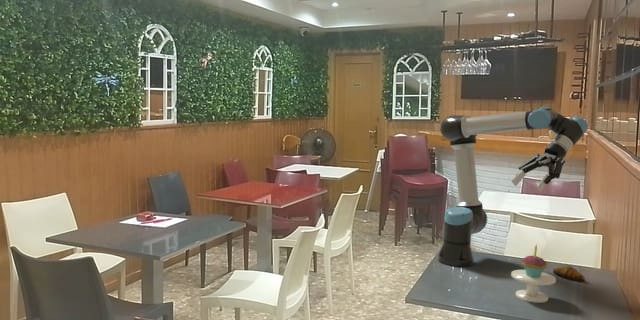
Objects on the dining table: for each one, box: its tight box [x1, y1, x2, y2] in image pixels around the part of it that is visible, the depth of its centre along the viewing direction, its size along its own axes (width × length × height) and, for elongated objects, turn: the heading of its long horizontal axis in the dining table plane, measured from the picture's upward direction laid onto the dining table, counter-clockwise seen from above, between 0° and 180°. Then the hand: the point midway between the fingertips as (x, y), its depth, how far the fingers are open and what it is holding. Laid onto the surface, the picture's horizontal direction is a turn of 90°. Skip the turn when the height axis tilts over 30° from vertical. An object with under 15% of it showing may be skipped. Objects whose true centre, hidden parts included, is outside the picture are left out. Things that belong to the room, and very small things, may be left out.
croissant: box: [552, 265, 586, 282], centre depth 224 cm, size 14×7×5 cm, turn 33°
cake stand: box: [511, 269, 557, 304], centre depth 197 cm, size 15×15×8 cm
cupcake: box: [520, 243, 547, 278], centre depth 196 cm, size 9×8×12 cm
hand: (525, 186), depth 215 cm, fingers open, 13 cm apart
